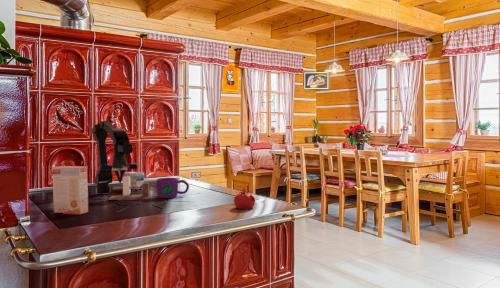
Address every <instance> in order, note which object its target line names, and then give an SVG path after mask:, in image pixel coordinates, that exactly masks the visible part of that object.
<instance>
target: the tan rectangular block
mask: <svg viewBox="0 0 500 288" xmlns="http://www.w3.org/2000/svg"><path fill="white" fill-rule="evenodd" d="M122 186H123V189H122V195H131V191H132V190H131V189H129V186H130V176H127V177H125V176H123V178H122Z"/></svg>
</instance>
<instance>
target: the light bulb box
mask: <svg viewBox="0 0 500 288" xmlns="http://www.w3.org/2000/svg"><path fill="white" fill-rule="evenodd" d="M127 176H130V186H132V185H135V186H138V185H142V184H143V183H144V182H145V172H141V171H125V173H124V177H127ZM138 189H140V188H138Z"/></svg>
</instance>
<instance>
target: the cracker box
mask: <svg viewBox="0 0 500 288" xmlns="http://www.w3.org/2000/svg"><path fill="white" fill-rule="evenodd" d="M51 169H52V170H51V171H52V188H53V189H52V199H53V203H52V204H53V214H54V213H63V214H62V215H82V214H86V213H89V190H88V188H89V187H88V166H86V165H85V166H83V165H82V166H80V165H79V166H78V165H77V166H76V165H65V166H64V165H62V166H61V165H60V166H53V167H52V168H51Z"/></svg>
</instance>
